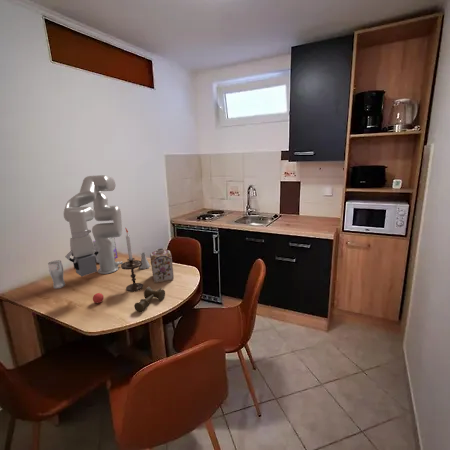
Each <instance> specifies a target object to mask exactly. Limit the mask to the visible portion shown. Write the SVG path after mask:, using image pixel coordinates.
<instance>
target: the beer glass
mask: <svg viewBox="0 0 450 450" xmlns="http://www.w3.org/2000/svg"><path fill="white" fill-rule="evenodd" d="M47 266H48V267H47V268H48V272H49V275H50V277H51V279H52V282H53V283H52V284H53V289H55V290H56V289H57V290H59V289H62V288H65V287H66V283H65V280H64V279H65V278H64V266H63V263H62V260H60V259H57V260H52V261H50V262H48V263H47Z"/></svg>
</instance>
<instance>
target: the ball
mask: <svg viewBox="0 0 450 450" xmlns="http://www.w3.org/2000/svg"><path fill="white" fill-rule="evenodd" d="M104 299H105V297H104V295H103V294H102V293H101V292H98V293H95V294H94V295H93V296H92V301H93V303H94V304H101V303H102V302H103V301H104Z"/></svg>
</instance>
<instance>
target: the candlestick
mask: <svg viewBox="0 0 450 450" xmlns="http://www.w3.org/2000/svg"><path fill="white" fill-rule="evenodd" d="M125 232H126V235H125V240H126V246H127V247H126V248H127V254H128V258H127V259H126V261H125V262H123V264H120V269H122V270H128V271H129V270H131V271H130V272H131V274H130V278H131V282H132V283H131V284H128V285H127V286H126V287H125V288H126V289H125V290H126V291H127V292H130V293H133V292H134V291H135V292H138V290H139V291H141V290H142V289H144V285H143V283H142V282H136V280H137V279H136V276H137V274H135V271H134V270H135V269H137V268H139V267H140V266H141V265H142V262H141V260H139V259H138V260H137V259H136V258H135V257H133V251H132V250H133V249H132V245H131V244H132V243H131V237H130V235H129V233H128V232H129V231H128V229H127V228H126V227H125ZM140 289H141V290H140ZM135 292H134V293H135Z"/></svg>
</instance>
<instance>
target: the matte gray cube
mask: <svg viewBox="0 0 450 450" xmlns="http://www.w3.org/2000/svg"><path fill="white" fill-rule="evenodd" d="M77 263H78V267H79V270H76V269H75V273H76V274H77V275H78V276H80V277H84V276H88V275H91V274H94V273H98V267H97V263H96V261H95V255H91V254H90V255H87V256H83V257H79V258H78V259H77Z"/></svg>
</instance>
